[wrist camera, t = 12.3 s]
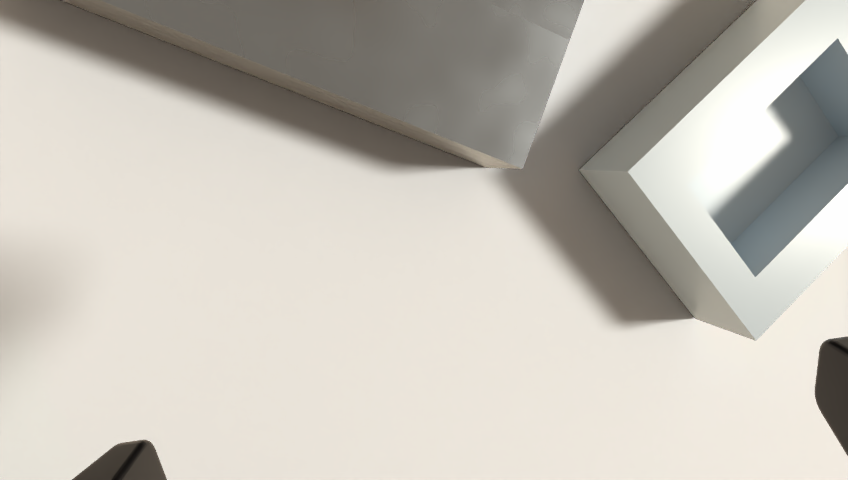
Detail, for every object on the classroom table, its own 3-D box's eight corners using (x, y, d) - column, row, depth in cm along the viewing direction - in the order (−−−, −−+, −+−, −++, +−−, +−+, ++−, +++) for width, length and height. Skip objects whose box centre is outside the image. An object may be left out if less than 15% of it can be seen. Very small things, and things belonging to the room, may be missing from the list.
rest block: (694, 318, 24) (756, 340, 21) (578, 170, 22) (628, 171, 19) (863, 148, 25) (944, 147, 22) (764, -7, 23) (838, -32, 20)
